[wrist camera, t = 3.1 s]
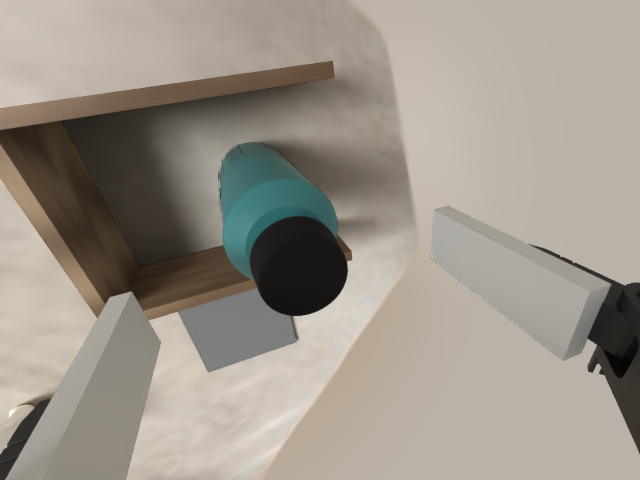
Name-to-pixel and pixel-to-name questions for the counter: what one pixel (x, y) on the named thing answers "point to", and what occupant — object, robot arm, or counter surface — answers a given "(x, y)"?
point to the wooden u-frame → (93, 214)
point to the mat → (236, 329)
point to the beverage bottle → (280, 230)
